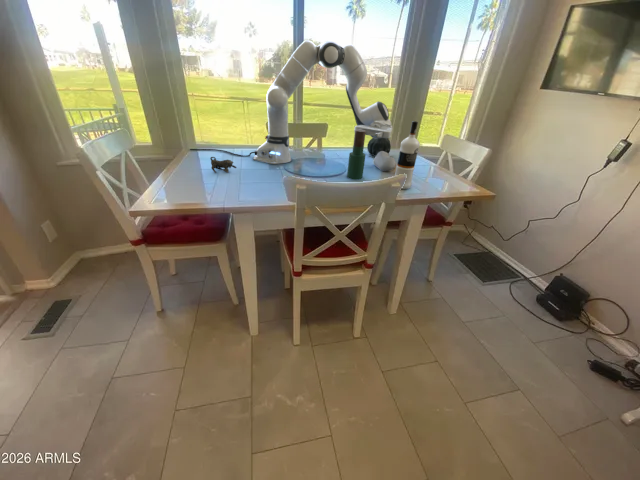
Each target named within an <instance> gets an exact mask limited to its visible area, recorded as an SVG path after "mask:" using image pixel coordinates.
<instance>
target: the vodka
mask: <svg viewBox="0 0 640 480" xmlns="http://www.w3.org/2000/svg"><path fill="white" fill-rule="evenodd" d="M418 125H419V121H417V120H412V121H411V124H410V129H409V134H408V136H407V137H405V138H404V139H403V140H401V142H400V146H399V147H400V148H399V154H398V158H397V163H396V165H395V173H394V176H395V175H399V174H404V173H405V174H407V178H406V181H405V184H404V186H403V188H402V189H401V190H409V189H410V188H411V187H412V185H413V182H412V180H413V175H414V170H415V166H416V161H417V157H418V152H419V149H420V147H421V144H420V141H419V139H417V138H416V134H417V129H418Z"/></svg>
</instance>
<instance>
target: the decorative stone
mask: <svg viewBox="0 0 640 480" xmlns="http://www.w3.org/2000/svg"><path fill="white" fill-rule="evenodd" d="M389 154H390V153H389ZM389 154H388V153H387V152H384V151H380V152H379V153H378V154H377V155H376V156H375V157H374V158H373V161H372V163H373V165H374V167H376V168H377V169H378V170H380V171H382V172H389V171H393V170H394V169H396V160H395V158H394V157H392V156H390V155H389Z"/></svg>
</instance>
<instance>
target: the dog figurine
mask: <svg viewBox="0 0 640 480" xmlns="http://www.w3.org/2000/svg"><path fill="white" fill-rule="evenodd" d="M209 159H210V164H211V167H210V168H211V171H213V172H214V174H216V173H217V171H216V170H219V171H223V172H224V173H229V169H231V168H234V169H237V166H236V165H234V161H233V160H231V159H224V160H219V159H218V160H217V158H216V157H215V156H210V158H209Z"/></svg>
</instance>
